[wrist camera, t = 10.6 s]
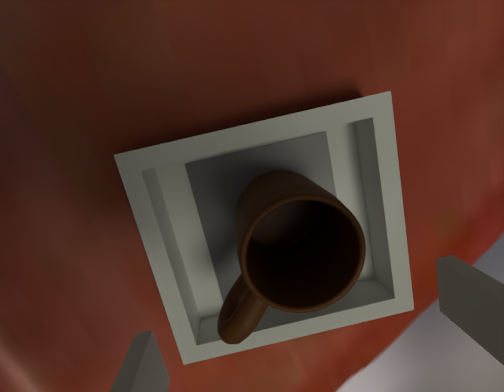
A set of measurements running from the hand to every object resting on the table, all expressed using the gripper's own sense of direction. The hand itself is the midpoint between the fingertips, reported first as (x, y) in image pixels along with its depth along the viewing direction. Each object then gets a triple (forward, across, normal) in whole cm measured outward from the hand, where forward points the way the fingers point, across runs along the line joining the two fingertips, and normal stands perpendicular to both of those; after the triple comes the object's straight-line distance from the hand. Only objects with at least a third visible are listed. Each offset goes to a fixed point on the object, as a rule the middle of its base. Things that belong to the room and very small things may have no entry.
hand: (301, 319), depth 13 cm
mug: (+13, 0, 0) cm, 13 cm away
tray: (+14, +1, 0) cm, 14 cm away
